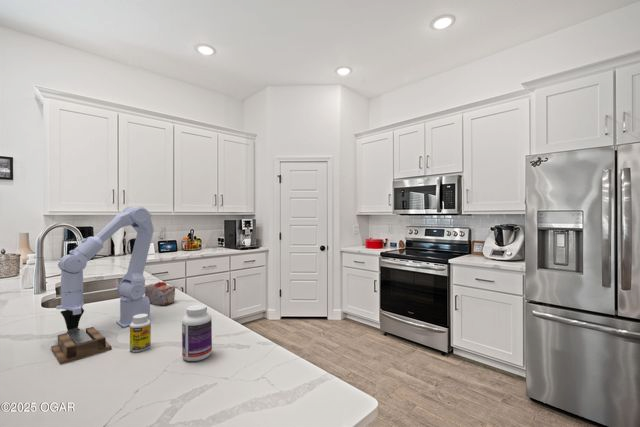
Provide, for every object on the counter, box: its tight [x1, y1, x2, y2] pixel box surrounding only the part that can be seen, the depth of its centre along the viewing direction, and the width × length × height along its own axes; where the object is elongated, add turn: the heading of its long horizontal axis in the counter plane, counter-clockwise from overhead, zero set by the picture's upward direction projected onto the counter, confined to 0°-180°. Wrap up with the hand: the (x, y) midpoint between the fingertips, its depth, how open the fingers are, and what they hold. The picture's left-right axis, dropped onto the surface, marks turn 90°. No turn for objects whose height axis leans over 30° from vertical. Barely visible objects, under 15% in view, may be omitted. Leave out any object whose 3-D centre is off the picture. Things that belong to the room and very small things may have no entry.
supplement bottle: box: [129, 314, 152, 353], centre depth 93 cm, size 6×6×10 cm
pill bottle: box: [181, 304, 213, 362], centre depth 88 cm, size 8×8×14 cm
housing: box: [50, 326, 112, 365], centre depth 92 cm, size 14×12×4 cm
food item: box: [144, 281, 176, 306], centre depth 139 cm, size 14×8×10 cm, turn 69°
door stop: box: [65, 327, 93, 345], centre depth 94 cm, size 15×4×4 cm, turn 50°
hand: (72, 331), depth 100 cm, fingers closed
